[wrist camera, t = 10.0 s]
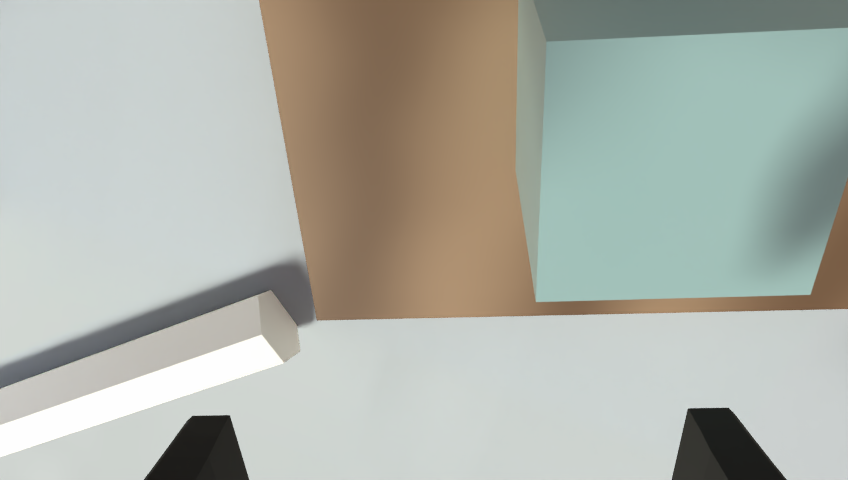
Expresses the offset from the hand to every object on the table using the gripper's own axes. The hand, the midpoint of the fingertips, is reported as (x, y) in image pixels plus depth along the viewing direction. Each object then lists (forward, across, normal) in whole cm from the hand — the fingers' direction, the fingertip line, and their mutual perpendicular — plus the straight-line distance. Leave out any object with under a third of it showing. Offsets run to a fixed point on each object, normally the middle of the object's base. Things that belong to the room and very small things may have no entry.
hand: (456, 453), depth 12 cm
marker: (+10, +13, +8) cm, 18 cm away
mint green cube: (+8, -4, -3) cm, 9 cm away
